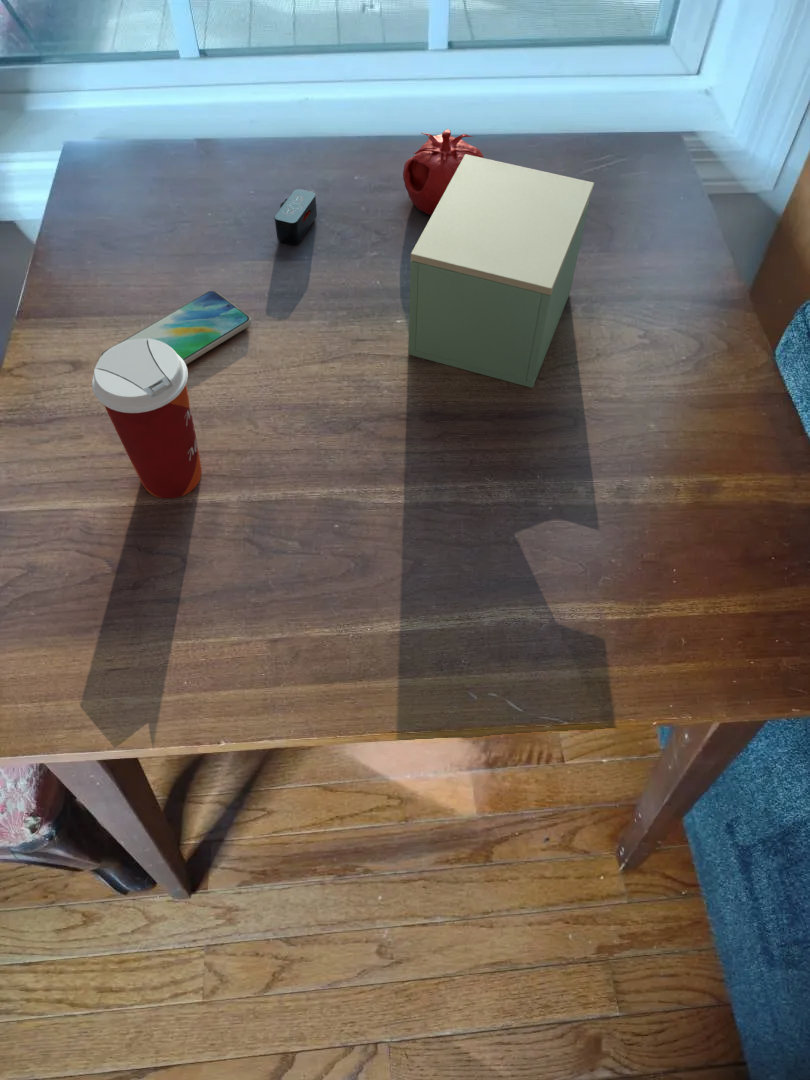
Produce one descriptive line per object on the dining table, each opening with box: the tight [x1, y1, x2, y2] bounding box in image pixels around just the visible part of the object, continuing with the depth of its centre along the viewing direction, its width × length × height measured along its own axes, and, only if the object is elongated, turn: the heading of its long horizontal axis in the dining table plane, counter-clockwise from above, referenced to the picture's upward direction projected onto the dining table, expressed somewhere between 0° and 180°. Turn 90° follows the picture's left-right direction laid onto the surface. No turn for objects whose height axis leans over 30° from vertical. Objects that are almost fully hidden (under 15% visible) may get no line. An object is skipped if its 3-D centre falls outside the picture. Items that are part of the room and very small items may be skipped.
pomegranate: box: [402, 128, 485, 216], centre depth 102 cm, size 10×10×9 cm
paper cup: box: [91, 339, 202, 500], centre depth 75 cm, size 8×8×14 cm
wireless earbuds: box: [274, 188, 318, 246], centre depth 101 cm, size 5×7×3 cm, turn 160°
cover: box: [410, 154, 595, 295], centre depth 84 cm, size 16×14×1 cm
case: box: [407, 200, 590, 389], centre depth 89 cm, size 16×14×12 cm
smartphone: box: [99, 290, 252, 365], centre depth 91 cm, size 7×1×15 cm
